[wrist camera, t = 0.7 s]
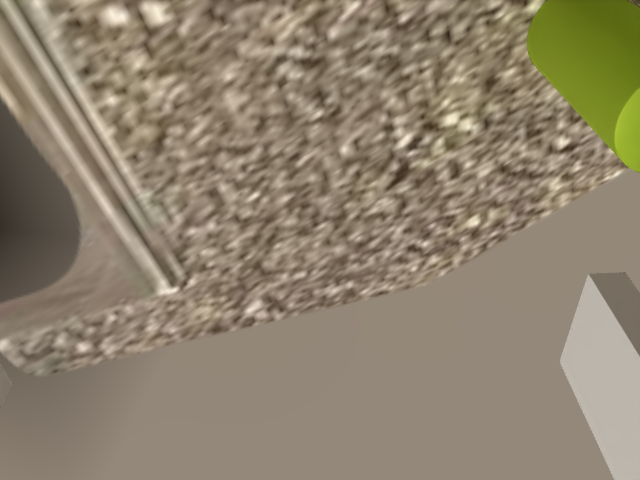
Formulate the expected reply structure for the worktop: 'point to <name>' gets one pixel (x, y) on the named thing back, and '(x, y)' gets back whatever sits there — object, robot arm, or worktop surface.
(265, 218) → the worktop surface
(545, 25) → the soap dispenser
